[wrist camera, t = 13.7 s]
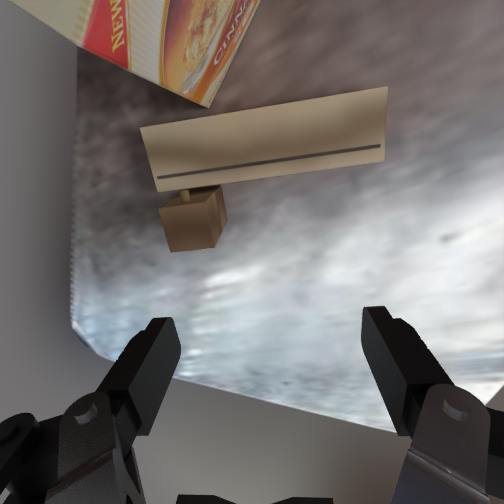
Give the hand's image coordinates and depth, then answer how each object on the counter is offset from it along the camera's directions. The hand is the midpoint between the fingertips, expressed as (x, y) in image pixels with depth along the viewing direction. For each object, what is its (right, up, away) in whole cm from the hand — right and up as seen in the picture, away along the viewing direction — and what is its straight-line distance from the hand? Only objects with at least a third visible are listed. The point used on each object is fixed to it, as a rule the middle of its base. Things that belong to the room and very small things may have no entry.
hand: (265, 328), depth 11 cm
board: (0, +14, +16) cm, 21 cm away
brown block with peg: (-6, +8, +18) cm, 21 cm away
